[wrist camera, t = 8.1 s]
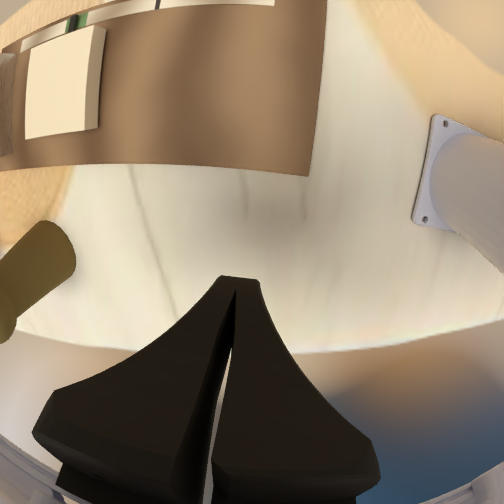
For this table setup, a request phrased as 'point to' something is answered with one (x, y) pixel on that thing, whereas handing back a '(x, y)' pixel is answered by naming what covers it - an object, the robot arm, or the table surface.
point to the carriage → (64, 82)
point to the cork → (32, 271)
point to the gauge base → (190, 86)
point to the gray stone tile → (6, 101)
